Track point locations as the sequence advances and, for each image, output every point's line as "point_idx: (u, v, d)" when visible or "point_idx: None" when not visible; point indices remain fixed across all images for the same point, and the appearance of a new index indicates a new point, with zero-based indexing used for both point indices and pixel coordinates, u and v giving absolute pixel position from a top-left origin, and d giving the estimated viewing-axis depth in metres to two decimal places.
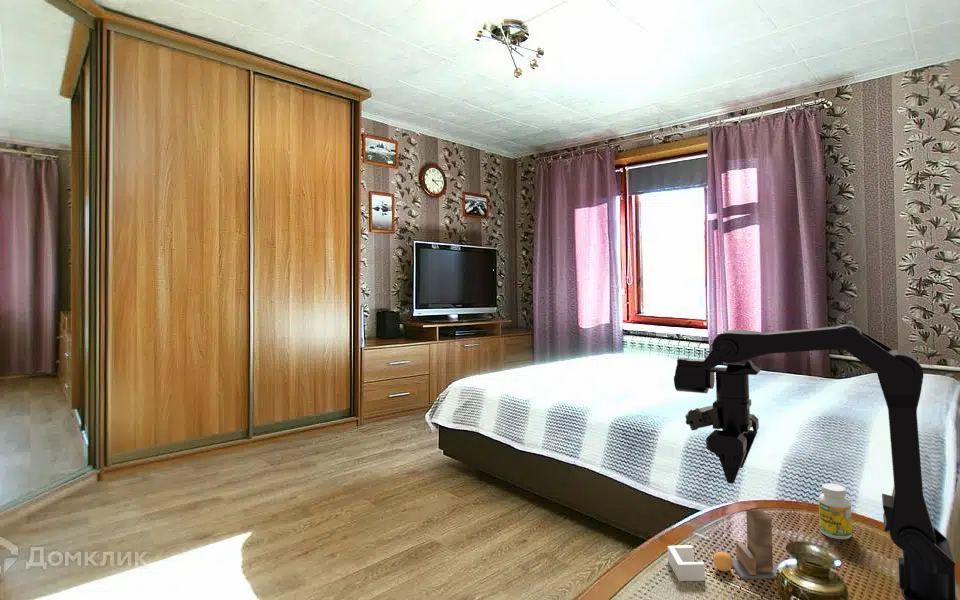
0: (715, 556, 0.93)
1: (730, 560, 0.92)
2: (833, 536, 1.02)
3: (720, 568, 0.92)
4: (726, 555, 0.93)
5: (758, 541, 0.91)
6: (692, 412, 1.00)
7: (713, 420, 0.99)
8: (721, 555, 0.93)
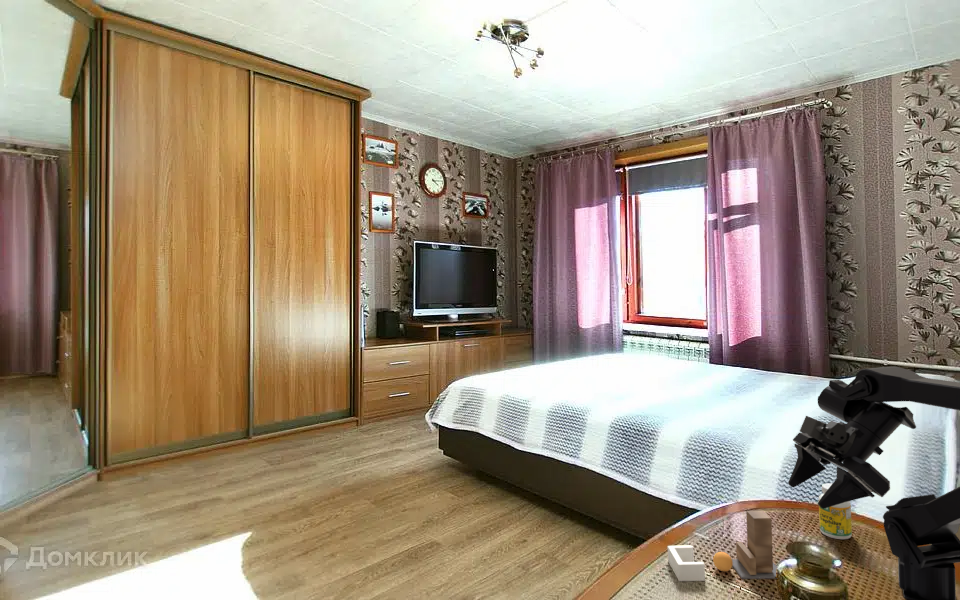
0: (715, 556, 0.93)
1: (730, 560, 0.92)
2: (833, 536, 1.02)
3: (720, 568, 0.92)
4: (726, 555, 0.93)
5: (758, 541, 0.91)
6: (841, 426, 0.87)
7: (845, 444, 0.88)
8: (721, 555, 0.93)
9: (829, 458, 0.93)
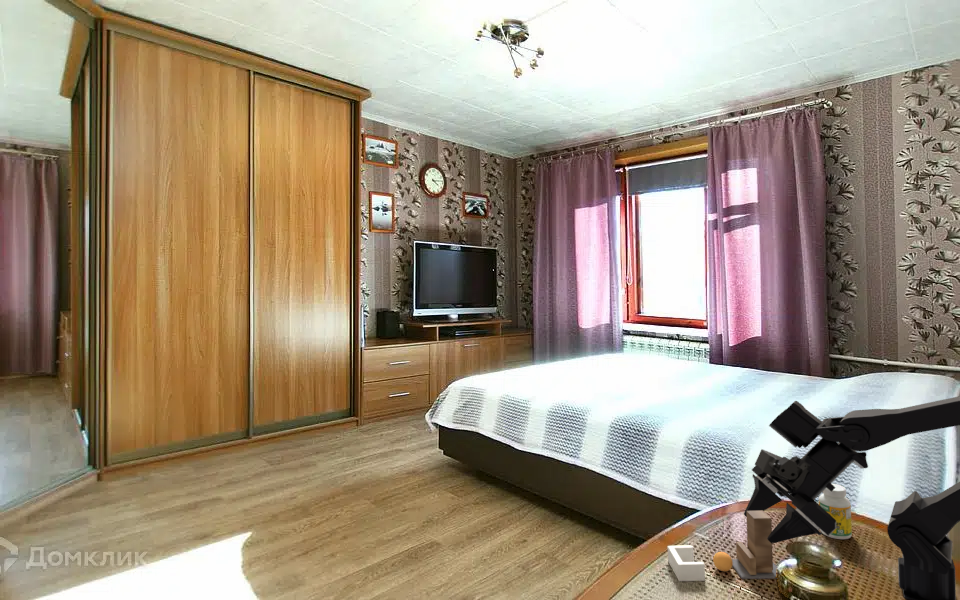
0: (715, 556, 0.93)
1: (730, 560, 0.92)
2: (833, 536, 1.02)
3: (720, 568, 0.92)
4: (726, 555, 0.93)
5: (758, 541, 0.91)
6: (792, 463, 0.88)
7: (797, 480, 0.89)
8: (721, 555, 0.93)
9: (783, 492, 0.94)
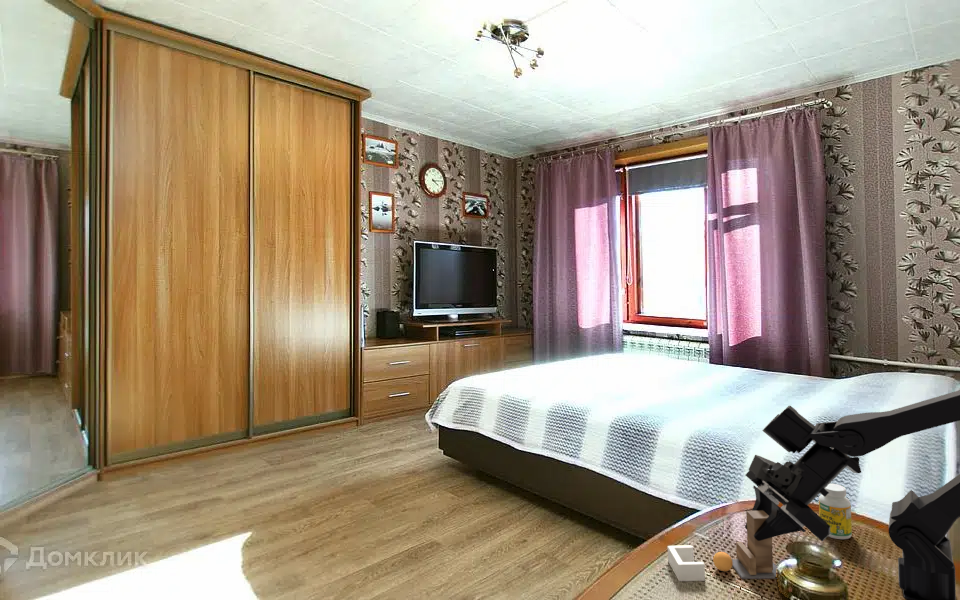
0: (715, 556, 0.93)
1: (730, 560, 0.92)
2: (833, 536, 1.02)
3: (720, 568, 0.92)
4: (726, 555, 0.93)
5: (758, 541, 0.91)
6: (786, 468, 0.88)
7: (790, 485, 0.89)
8: (721, 555, 0.93)
9: (777, 497, 0.94)
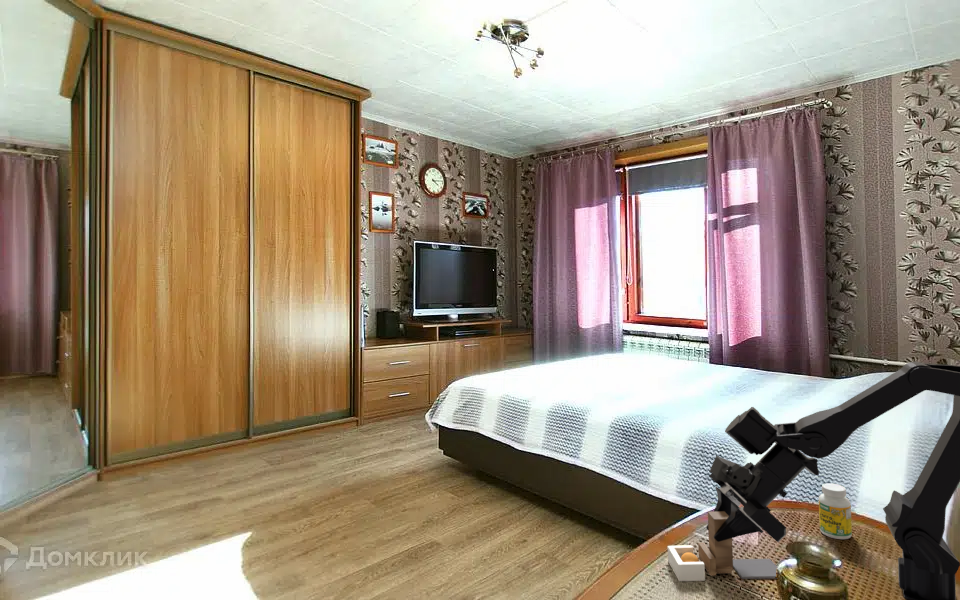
0: None
1: None
2: (833, 536, 1.02)
3: (694, 560, 0.93)
4: None
5: None
6: (744, 470, 0.88)
7: (749, 486, 0.90)
8: None
9: (738, 498, 0.94)
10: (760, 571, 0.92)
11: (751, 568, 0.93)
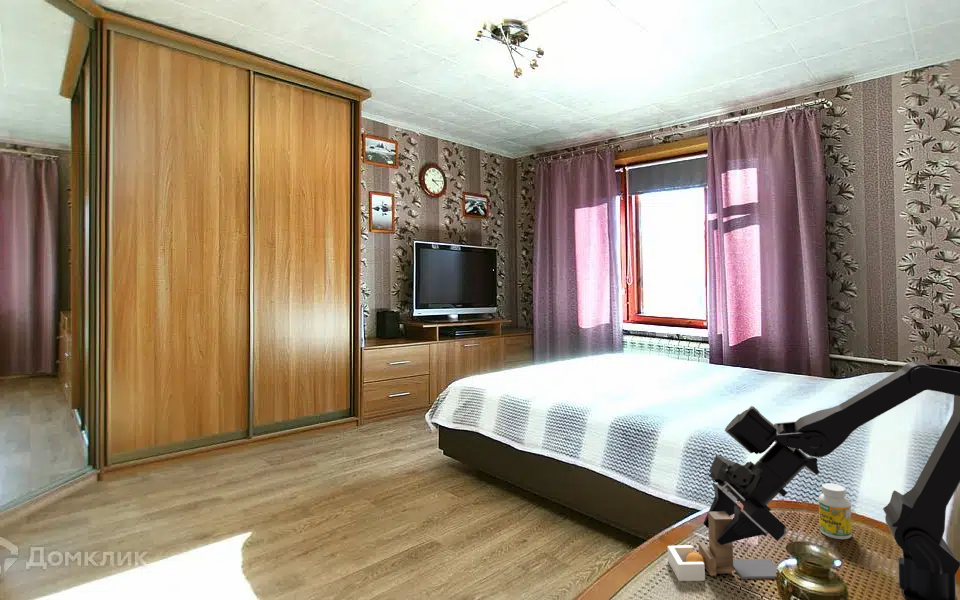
0: None
1: None
2: (833, 536, 1.02)
3: None
4: None
5: None
6: (744, 469, 0.88)
7: (749, 485, 0.90)
8: None
9: (738, 497, 0.94)
10: (760, 571, 0.92)
11: (751, 568, 0.93)
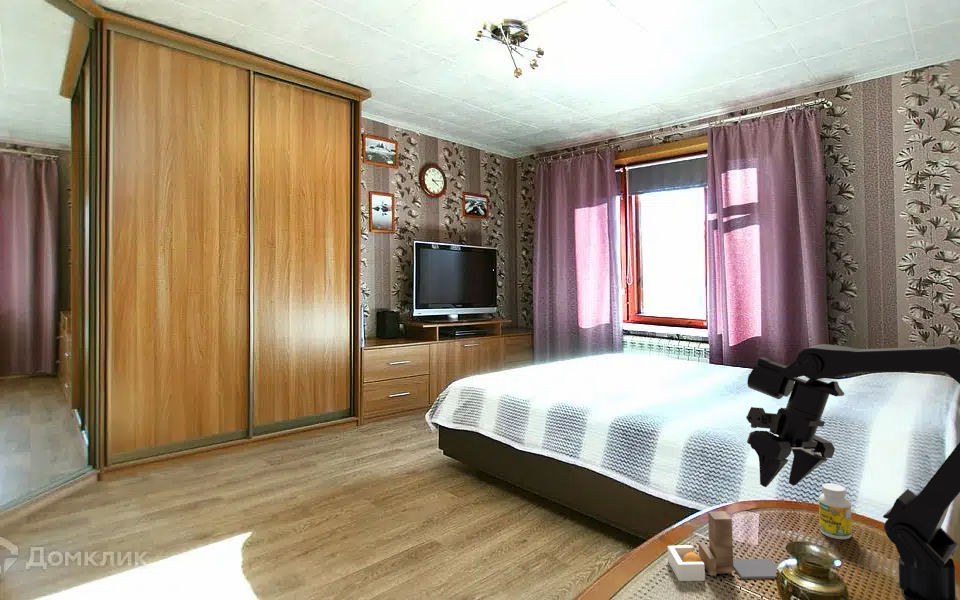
0: None
1: None
2: (833, 536, 1.02)
3: (699, 561, 0.93)
4: None
5: (719, 541, 0.92)
6: (754, 409, 1.00)
7: (772, 424, 0.98)
8: None
9: None
10: (760, 571, 0.92)
11: (751, 568, 0.93)
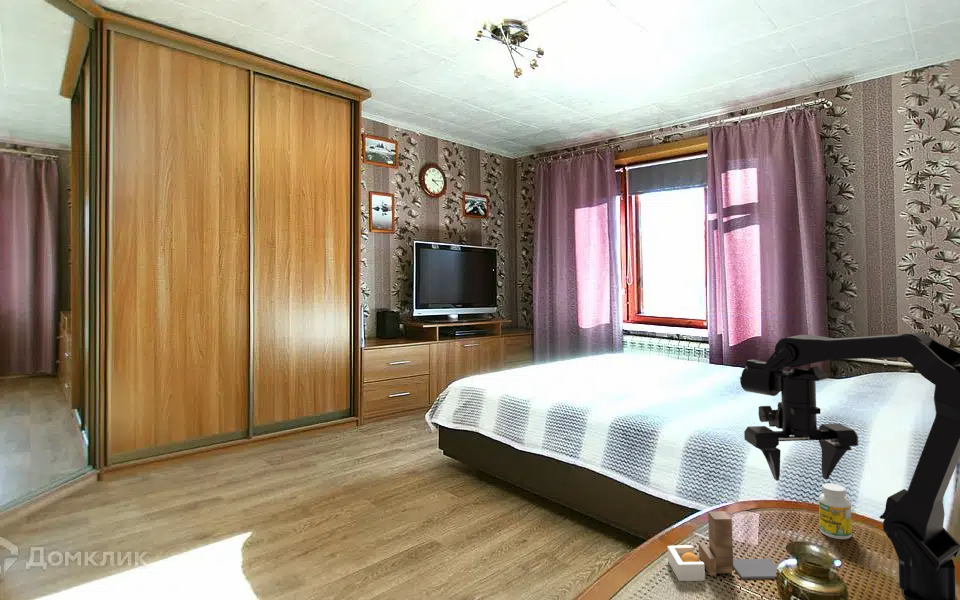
0: None
1: None
2: (833, 536, 1.02)
3: (695, 560, 0.93)
4: None
5: (719, 541, 0.92)
6: (760, 407, 1.06)
7: (776, 419, 1.03)
8: None
9: None
10: (760, 571, 0.92)
11: (751, 568, 0.93)
